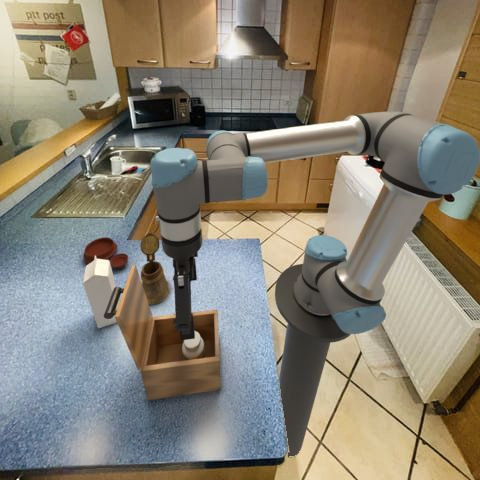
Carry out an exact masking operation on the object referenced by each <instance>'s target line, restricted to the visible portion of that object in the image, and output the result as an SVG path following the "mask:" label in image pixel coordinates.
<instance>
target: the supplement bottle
mask: <svg viewBox="0 0 480 480" xmlns="http://www.w3.org/2000/svg"><path fill="white" fill-rule="evenodd" d="M182 352H183V359H184V361H185V360H193V359H200V358H205V351H204V342H203V339H202V338H201V337H200V334H199V333H198V332H196V331H195V339H188V340H184V343H183V345H182Z"/></svg>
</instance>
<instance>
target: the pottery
mask: <svg viewBox="0 0 480 480" xmlns="http://www.w3.org/2000/svg"><path fill="white" fill-rule="evenodd" d="M117 250H118V244H117V242H115V241H114V239H113V238H111V237H99V238H96V239H94V240H92V241H90V242H89V243H88V244H86V246H85V248H84V250H83V256H82V257H83V258H82V259H83V260H84V261H85V262H86V263H88V264H90V263H91V262H93V261H94V259H95V255H96V258H97V259H103V260H109V259H110V260H109V261H110V265H111V268H115V269H116V270H122V269H123V268H124V267H125V265H126V264H127V262H129V261H128V260H129V255H128V254H126V253H118V254H115V253H116V252H117ZM114 254H115V255H114Z"/></svg>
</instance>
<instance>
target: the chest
mask: <svg viewBox="0 0 480 480" xmlns="http://www.w3.org/2000/svg"><path fill="white" fill-rule="evenodd" d="M218 311H219V310H218V309H209V310H201V311H200V310H199V311H191V313H193V322H194V331H196V332H198V333H199V334H200V337H201V338H202V339H203V342H204V351H205V358H200V359H193V360H185V361H184V359H183V352H182V345H183V343H184V340H181V338H180V332H179V331H176V324H173V320H174V319H176V314H175V313H174V314H173V313H172V314H165V315H155V316H153V315H152V320H151V325H150V331H149V336H148V341H147V346H146V351H145V356H144V361H143V366H142V370H139V372H140V375H141V380H142V383H143V387H144V391H145V394H146V399H147V401H153V400H154V401H155V400H159V399H167V398H173V397H180V396H187V395H193V394H200V393H207V392H213V391H214V392H215V391H219V390H222V383H221V381H222V380H221V354H220V353H221V352H220V333H219V332H220V331H219V312H218Z"/></svg>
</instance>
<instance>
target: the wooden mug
mask: <svg viewBox="0 0 480 480" xmlns="http://www.w3.org/2000/svg"><path fill="white" fill-rule="evenodd" d="M160 243H161V242H160V239H159V237H158V236H157V235H155V234H153V233H151V232H147V234H146V235H145V236H143V237H142V238H141V240H140V244H139V245H140V251H141V254H143V255H145V256H146V263H144V264H143V265H142V267H141V271H140V279H141V282H142V285H143V288H144V291H145V294H146V297H147V300H148V303H149V305H157V304H160V303H162V302H163V301H164V300H166V299H167V297H169V294H170V291H171V290H170V289H171V288H170V284H169V282H168V280H167V279H166V276H165V273H164V267H163V265H162V264H161V262H159V261H157V260H156V253H157V252H158V251H159V249H160V245H161V244H160Z"/></svg>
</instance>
